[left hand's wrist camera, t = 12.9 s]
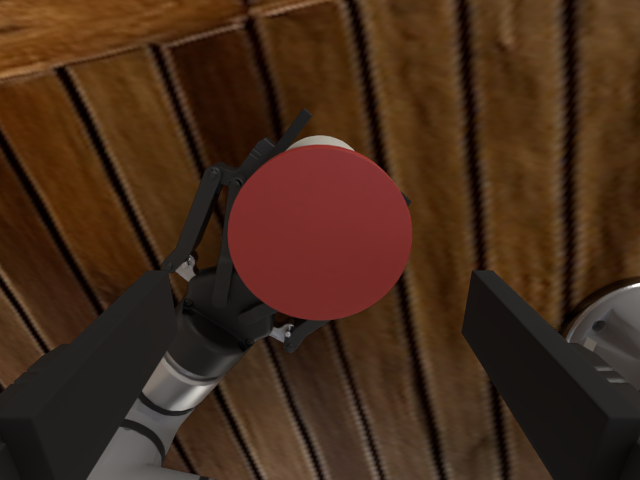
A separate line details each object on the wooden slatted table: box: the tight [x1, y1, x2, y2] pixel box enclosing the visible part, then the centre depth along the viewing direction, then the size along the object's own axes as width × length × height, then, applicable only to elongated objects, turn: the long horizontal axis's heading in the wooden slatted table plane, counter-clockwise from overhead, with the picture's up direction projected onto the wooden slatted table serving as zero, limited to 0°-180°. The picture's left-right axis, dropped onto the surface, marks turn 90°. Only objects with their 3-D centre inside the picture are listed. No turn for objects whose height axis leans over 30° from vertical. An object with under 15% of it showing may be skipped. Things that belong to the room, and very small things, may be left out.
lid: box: [228, 144, 412, 320], centre depth 20 cm, size 10×10×2 cm
